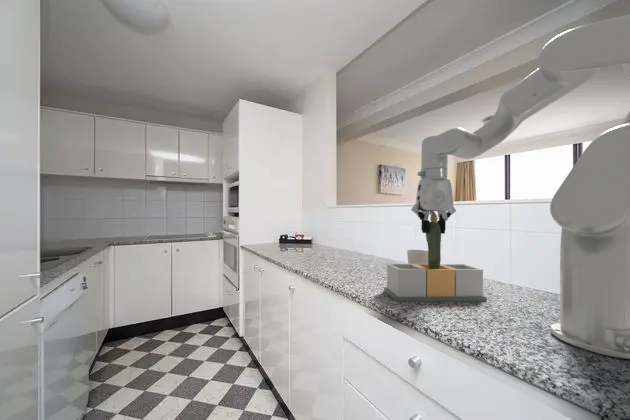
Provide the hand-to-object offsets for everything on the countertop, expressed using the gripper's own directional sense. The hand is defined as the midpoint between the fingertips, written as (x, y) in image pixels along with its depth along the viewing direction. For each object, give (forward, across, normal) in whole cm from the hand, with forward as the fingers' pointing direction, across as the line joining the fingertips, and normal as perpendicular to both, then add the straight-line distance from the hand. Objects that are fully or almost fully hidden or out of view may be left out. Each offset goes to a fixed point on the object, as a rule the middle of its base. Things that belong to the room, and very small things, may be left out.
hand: (433, 232), depth 78 cm
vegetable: (+13, 0, 0) cm, 13 cm away
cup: (+20, +3, +15) cm, 25 cm away
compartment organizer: (+20, 0, 0) cm, 20 cm away
